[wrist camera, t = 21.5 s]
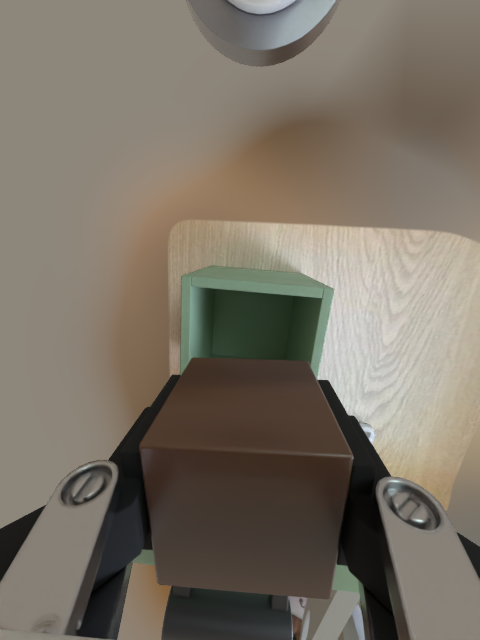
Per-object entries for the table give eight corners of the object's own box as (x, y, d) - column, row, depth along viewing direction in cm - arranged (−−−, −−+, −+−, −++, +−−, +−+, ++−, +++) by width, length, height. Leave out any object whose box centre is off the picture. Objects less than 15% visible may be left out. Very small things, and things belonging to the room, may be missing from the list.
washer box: (211, 265, 31) (180, 275, 18) (302, 273, 30) (334, 288, 18) (206, 356, 34) (179, 415, 22) (289, 364, 34) (307, 429, 21)
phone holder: (338, 510, 40) (399, 704, 23) (279, 497, 40) (296, 681, 23) (376, 426, 35) (489, 592, 18) (308, 411, 36) (358, 563, 18)
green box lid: (65, 528, 8) (37, 711, 8) (416, 575, 8) (411, 772, 7) (178, 413, 21) (170, 477, 21) (309, 428, 21) (304, 494, 20)
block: (191, 356, 9) (136, 444, 5) (308, 359, 9) (355, 457, 5) (196, 450, 11) (156, 586, 6) (300, 455, 10) (332, 602, 6)
